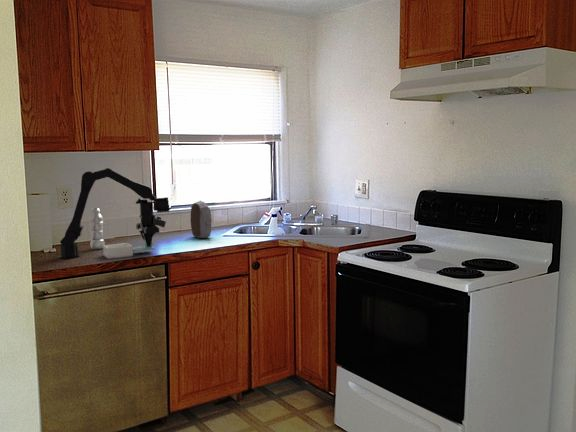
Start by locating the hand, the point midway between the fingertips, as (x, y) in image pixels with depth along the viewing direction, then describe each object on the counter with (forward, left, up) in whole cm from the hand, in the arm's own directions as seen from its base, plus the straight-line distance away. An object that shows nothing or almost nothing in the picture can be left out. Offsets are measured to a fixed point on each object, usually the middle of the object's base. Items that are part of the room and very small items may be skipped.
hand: (148, 246), depth 258 cm
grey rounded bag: (+45, +5, -3) cm, 45 cm away
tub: (-12, +7, -3) cm, 14 cm away
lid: (-2, +1, -1) cm, 3 cm away
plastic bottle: (-5, +29, -3) cm, 30 cm away
